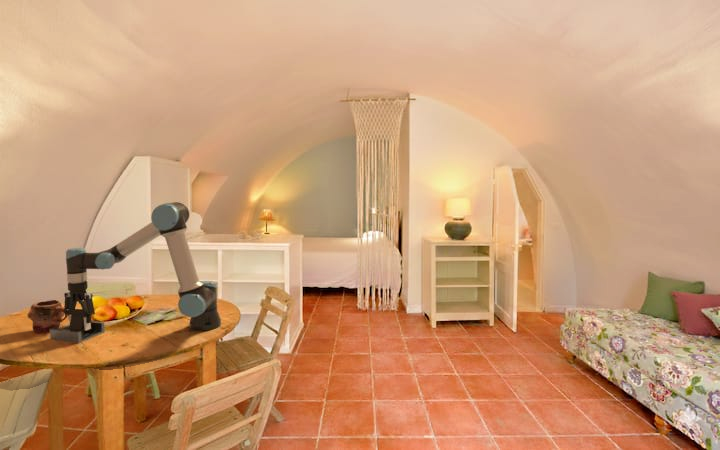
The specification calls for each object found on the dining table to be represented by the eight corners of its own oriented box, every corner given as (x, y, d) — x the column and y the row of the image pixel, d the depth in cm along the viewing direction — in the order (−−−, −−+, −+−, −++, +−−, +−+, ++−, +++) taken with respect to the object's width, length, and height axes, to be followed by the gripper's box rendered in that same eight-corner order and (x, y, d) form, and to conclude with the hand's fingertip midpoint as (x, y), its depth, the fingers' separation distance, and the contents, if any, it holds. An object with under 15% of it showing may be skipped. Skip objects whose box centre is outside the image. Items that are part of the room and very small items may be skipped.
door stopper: (79, 338, 186) (78, 312, 185) (67, 337, 186) (65, 312, 185) (93, 330, 195) (92, 306, 194) (81, 330, 195) (80, 306, 194)
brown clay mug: (79, 326, 203) (77, 299, 202) (61, 335, 191) (59, 307, 190) (40, 325, 203) (38, 298, 202) (19, 334, 191) (17, 306, 190)
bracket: (104, 332, 196) (104, 322, 195) (78, 343, 182) (77, 332, 182) (77, 329, 200) (77, 319, 199) (50, 339, 186) (49, 329, 185)
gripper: (102, 281, 189) (105, 328, 192) (67, 277, 194) (70, 323, 196) (88, 284, 182) (91, 333, 184) (51, 281, 187) (55, 329, 189)
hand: (80, 328), depth 190 cm, fingers open, 8 cm apart
